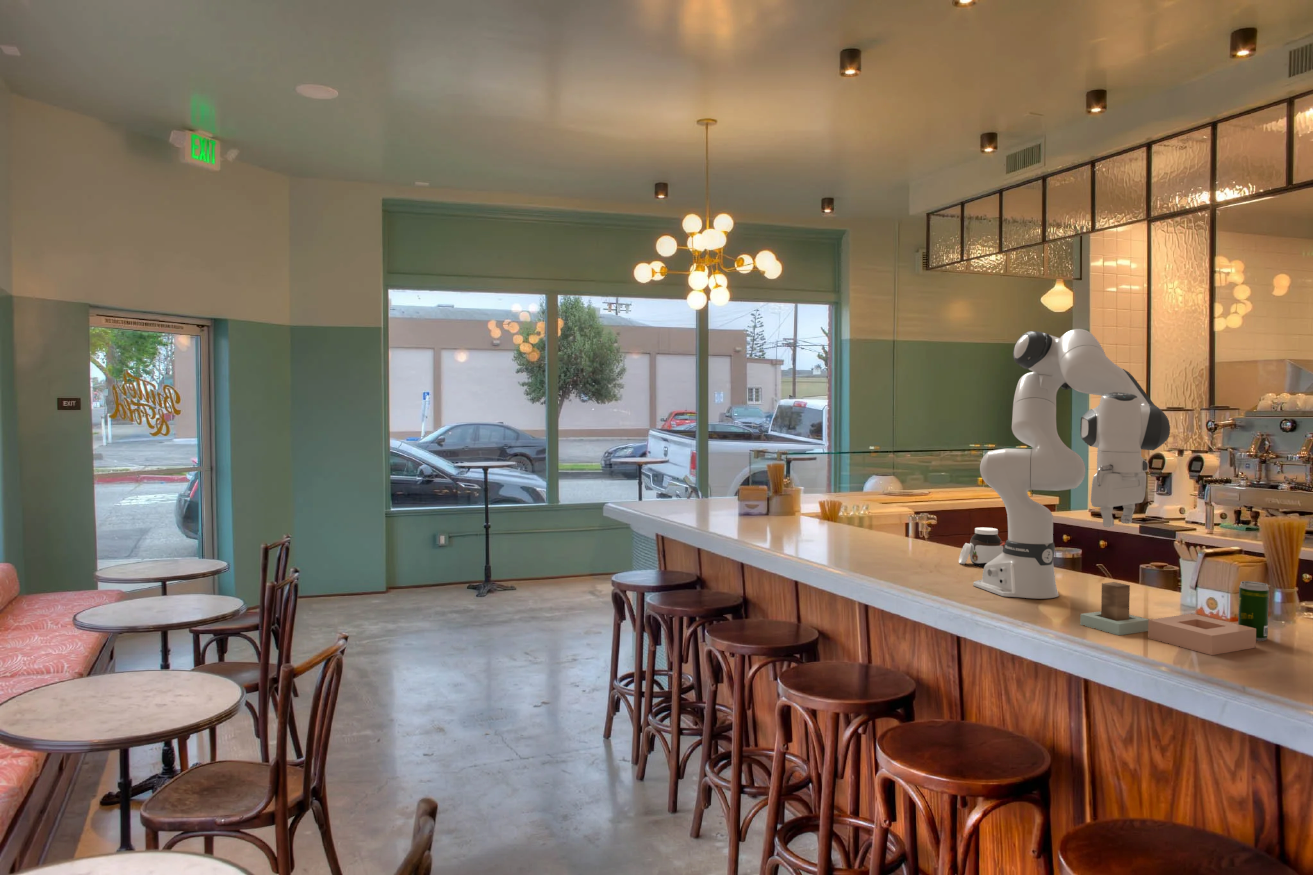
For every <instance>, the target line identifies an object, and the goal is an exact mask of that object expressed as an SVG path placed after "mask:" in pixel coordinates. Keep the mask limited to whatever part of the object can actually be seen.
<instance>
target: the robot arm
mask: <svg viewBox="0 0 1313 875" xmlns="http://www.w3.org/2000/svg"><path fill="white" fill-rule="evenodd" d="M1012 352H1013V353H1012V356H1013V360H1014V362H1015V363H1016V364H1017V365H1018V366H1019V367H1022V368H1023V369H1025V370H1029V371H1030V372H1027V373H1025V374H1023V375H1022V376H1021V377H1020V378H1019V380H1018V382H1017V385H1016V386H1015V387H1016V388H1015V392H1014V396H1013V403H1012V417H1011V418H1012V420H1011V431H1012V434H1013V435H1014V437H1015V438H1016V439H1017V440H1018V441H1020V442H1021V443H1023V444H1025V445H1028V446H1030V447H1031V448H1010V447H1009V448H1007V447H1006V448H998V449H993V450H989V451H987V452H986V453H985V454H984V455H983V457H982V458H981V461H980V464H979V473H980V476H981V478H982V480H983V481H984V483H985V484H987V485H988V486H989V487H990V488H992V490H994V491H995V493H997V495H998V496H999V497H1000V499H1001V501H1002V502H1003V504H1004V507H1005V510H1006V514H1007V515H1006V517H1007V539H1006V540H1005V541H1002V540H1001V541H1002V542H1000V543H1002V544H1001V545H1000V546H1003V553H1001V554H1000V555H998V556H997V557H996V558H994V559H993V560H991V561H990V562H988V563H987V564H986V565H985V567H983V571H982V578H981V579H980V580H979V579H978V580H975V581H973V584H972V585H973V586H974V587H976V588H979V589H982V590H984V591H987V592H990V593H993V594H995V595H999V596H1001V597H1006V598H1008V597H1009V598H1023V599H1025V598H1026V599H1053V598H1057V597H1059V592H1058V587H1057V584H1056V575H1055V574H1056V573H1055V566H1054V558H1055V548H1056V547H1055V542H1054V535H1053V534H1054V516H1053V513H1052V512H1051V510H1050V509H1049V508H1048V507H1046V506H1045V505H1043V504H1042V503H1039V502H1037V501H1035V500H1033V499H1032V498H1031V497H1030V496H1029V493H1028V492H1029V491H1050V492H1051V491H1054V492H1055V491H1057V492H1058V491H1059V492H1060V491H1067V490H1074V489H1077V488H1078V487H1079V486H1080V485H1081V484H1082V483H1083V481H1084V479H1085V476H1086V465H1085V462H1084V460H1083V458H1082V457H1081V456H1080V454H1078V453H1077V452H1076V451H1074V450H1072V449H1071V448H1070V447H1068V446H1067V445H1066V444H1065V443H1064V442H1063V440H1062V439H1061V437H1060V436H1059V434H1058V429H1057V428H1058V427H1057V394H1058V391H1059V389H1060V387H1061V389H1062V390H1071V389H1073V390H1075V391H1076V392H1079V393H1082V394H1087V395H1096V396H1100V399H1099V404H1098V405H1097V406H1096V407H1094V408H1090V409H1089V410H1087V411H1086V412H1085V413H1084V414H1083V415H1082V416H1081V417H1080V432H1079V434H1080V439H1081V440H1082V441H1083V442H1084V443H1085V444H1086V445H1088V446H1089V447H1092V448H1097V449H1096V450H1097V453H1096V454H1097V455H1096V473H1095V474H1094V475H1093V478H1092V481H1091V490H1090V491H1091V492H1090V503H1091V506H1092V507H1094V508H1100V510H1099V512H1100V515H1101V517H1102V526H1103V527H1105V528H1112V527H1114V525H1115V519H1114V518H1113V512H1114V510H1113V509H1114V507H1121V506H1122V508H1123V510H1122V515H1120V516H1121V519H1120V520H1121V521H1120V522H1121V524H1127V525H1128V524H1132V523H1133V515H1134V512H1135V510H1136V509H1135V508H1136V504H1140V503H1143V502H1144V499H1145V497H1146V490H1147V489H1146V487H1147V474H1146V473H1147V472H1148V471H1149V466H1150V464H1149V462H1148V461H1147V460H1146V459H1144V458H1143V456H1142V451H1143V450H1144V451H1155V450H1156V449H1159V448H1161V446H1162V445H1164V444H1165V443H1166V442H1167V441H1168V439H1169V437H1170V434H1171V424H1170V420H1169V418H1168V416H1167V414H1166V413H1165V412H1164V411H1163V410H1161V408H1160V407H1158V406H1157V405H1155V404H1154V402H1153V401H1152V400H1151V398H1150V397H1149V395H1148V394H1147V393H1146V392H1145V390H1144V389H1143V388H1142V386H1141V385H1140V384H1139V382H1138V381H1137V379H1136V378H1135V377H1134V376H1133V375H1132V374H1131V372H1130V371H1128V370H1126V369H1124V368H1122V367H1120V366H1118V365H1117V364H1116V363H1114V362H1113V361H1112V360H1111V359H1110V358H1108V356H1107V355H1106V353H1105V351H1104V348H1103V347H1102V345H1101V343H1100V342H1099V341H1098V339H1097V338H1096V337H1095V335H1093V333H1092V332H1090V331H1088V330H1086V329H1082V328H1074V329H1071V330H1068V331H1066V332H1065V333H1064V334H1062V335H1061V336H1060V337H1057V336H1054V335H1051V334H1050V333H1045V332H1043V331H1036V330H1034V331H1033V330H1031V331H1030V330H1029V331H1027V332H1025V333H1023V334H1021V336H1020V337H1019V338H1018V339H1017V341H1016V342H1015V344H1014V347H1013V351H1012Z"/></svg>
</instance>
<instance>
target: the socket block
mask: <svg viewBox="0 0 1313 875" xmlns="http://www.w3.org/2000/svg"><path fill="white" fill-rule="evenodd" d="M1147 638H1148V639H1150V640H1154V639H1155V640H1154V641H1158V642H1161V641H1162V642H1161V643H1164V644H1165V643H1166V644H1168V643H1169V644H1168V645H1172V646H1176V647H1179V646H1180V648H1184V649H1187V650H1191V651H1194V652H1199V653H1202V654H1206V655H1209V656H1214V655H1221V654H1226V653H1232V652H1238V651H1243V650H1248V649H1254V648H1257V646H1256V645H1257V641H1256V628H1251V627H1247V626H1243V625H1239V624H1238V623H1235V622H1234V623H1233V622H1230V621H1224V620H1221V619H1215V618H1212V617H1209V616H1208V617H1207V616H1204V615H1199V614H1195V613H1188V614H1187V613H1185V614H1179V615H1174V616H1173V615H1172V616H1165V617H1160V618H1159V617H1158V618H1152V619H1150V620H1148V631H1147Z"/></svg>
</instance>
